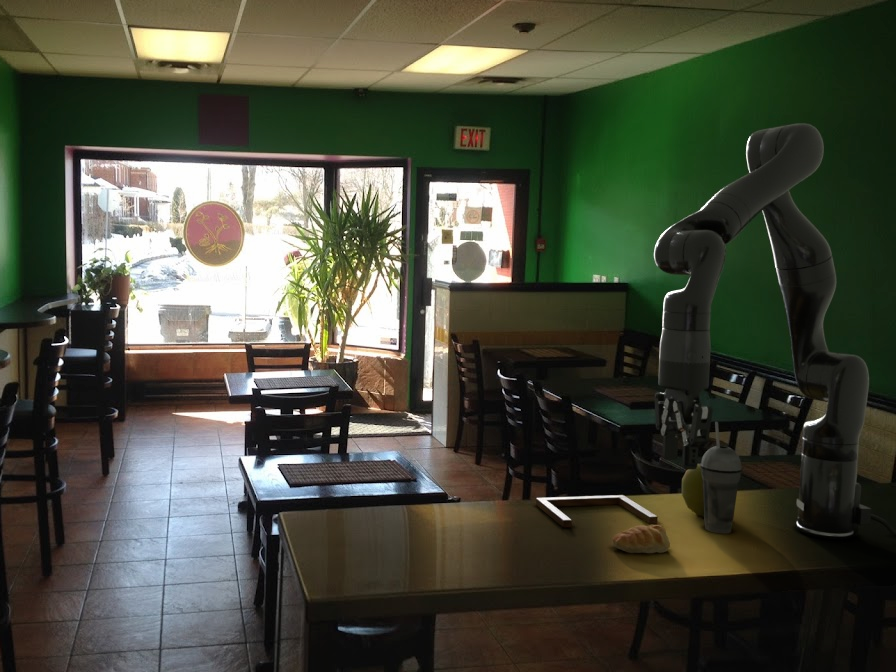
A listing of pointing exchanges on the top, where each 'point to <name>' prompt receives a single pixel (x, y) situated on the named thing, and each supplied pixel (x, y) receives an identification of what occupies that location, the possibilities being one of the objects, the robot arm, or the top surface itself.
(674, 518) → the top surface
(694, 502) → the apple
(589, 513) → the top surface
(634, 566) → the top surface
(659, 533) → the pastry
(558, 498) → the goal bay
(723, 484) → the beverage cup
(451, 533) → the top surface
